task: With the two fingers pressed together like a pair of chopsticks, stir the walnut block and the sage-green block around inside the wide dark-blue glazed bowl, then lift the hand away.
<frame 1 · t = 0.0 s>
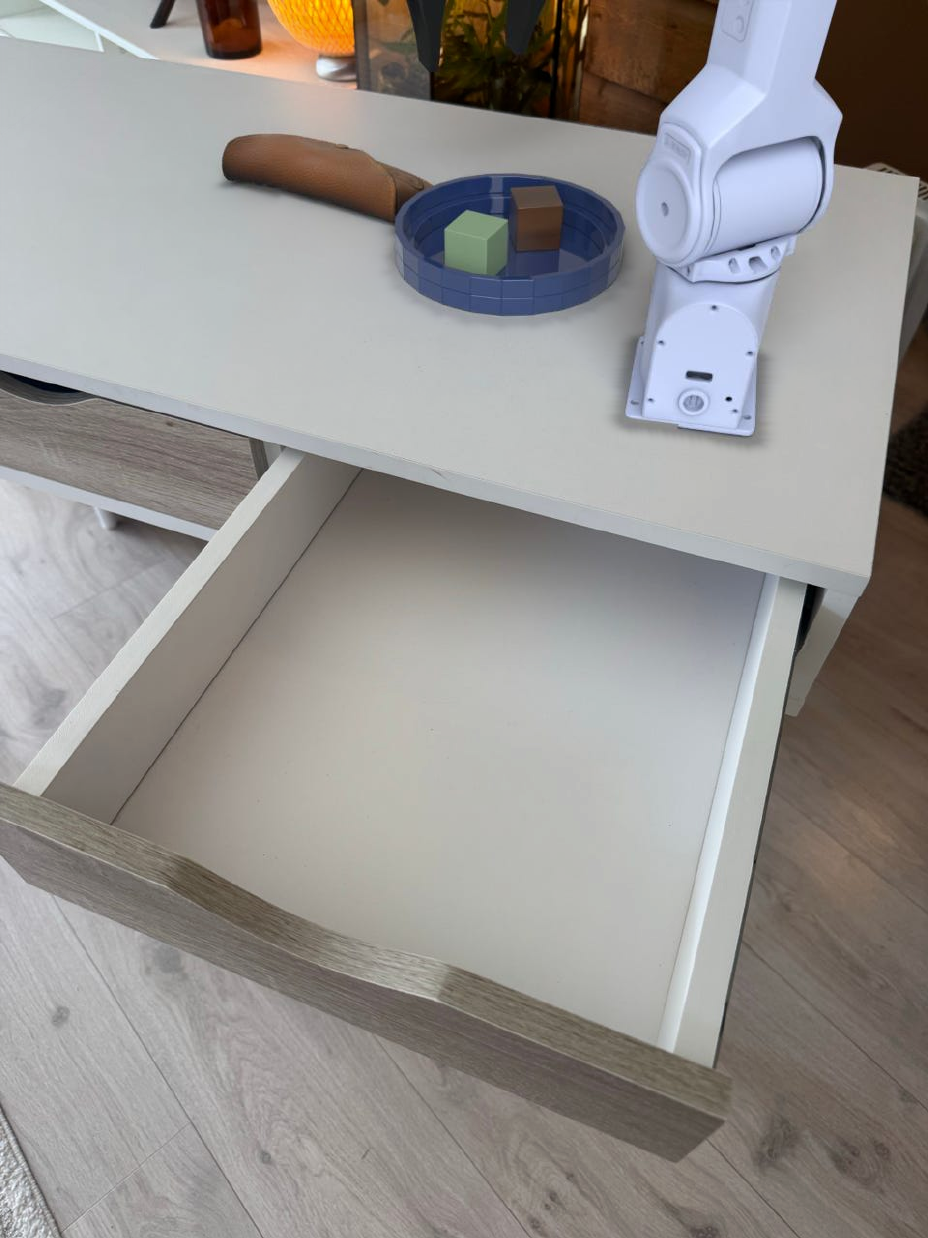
hand: (472, 57, 73), 11 cm above the table, tool pointing down, fingers open, 7 cm apart
sage block: (476, 269, 71), resting on bowl
walnut block: (534, 240, 74), resting on bowl
sunglasses case: (335, 193, 81), on the table
bowl: (507, 262, 73), on the table
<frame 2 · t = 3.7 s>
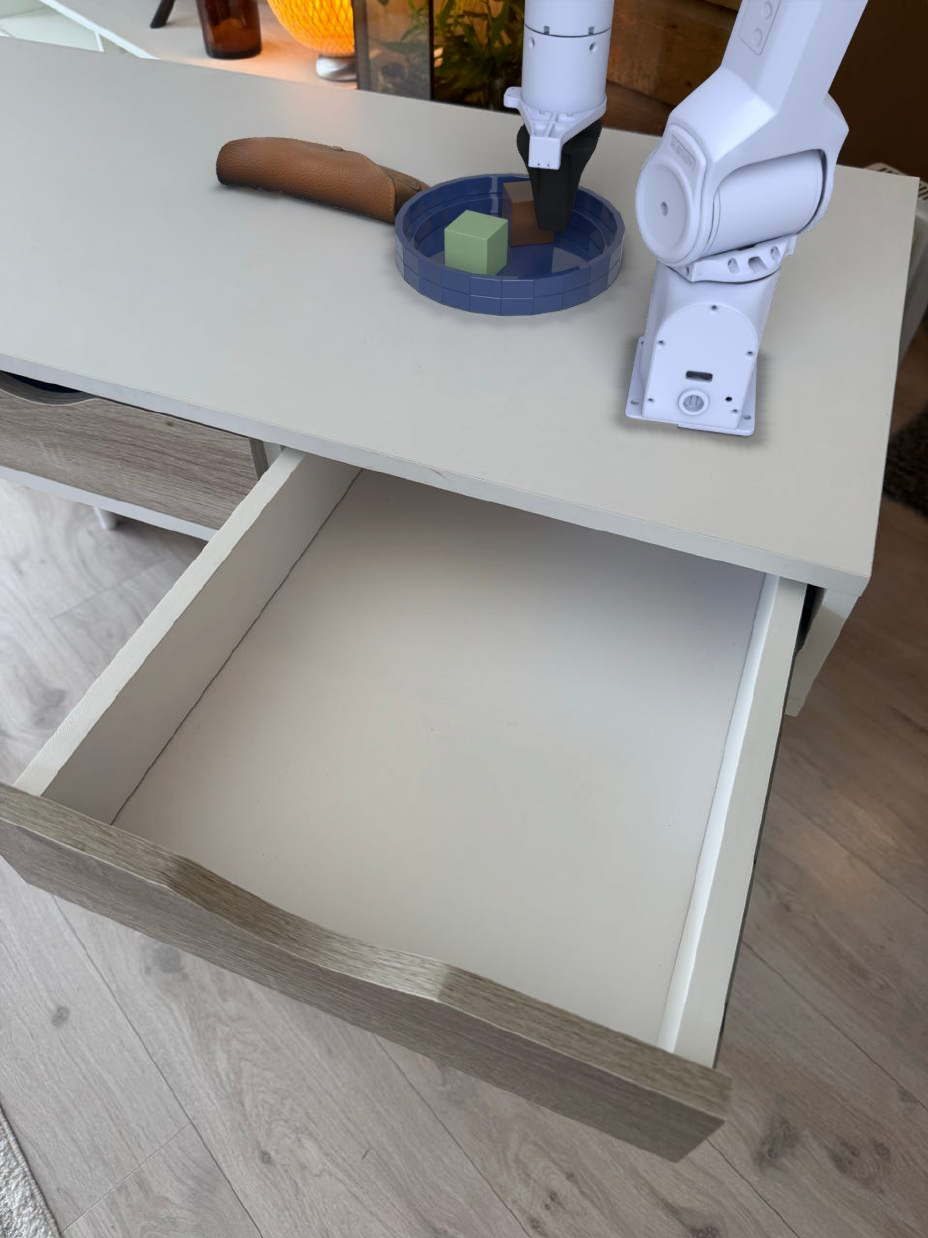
hand: (552, 226, 71), 3 cm above the table, tool pointing down, fingers closed
walnut block: (527, 234, 75), point 1 cm above the table, touching gripper
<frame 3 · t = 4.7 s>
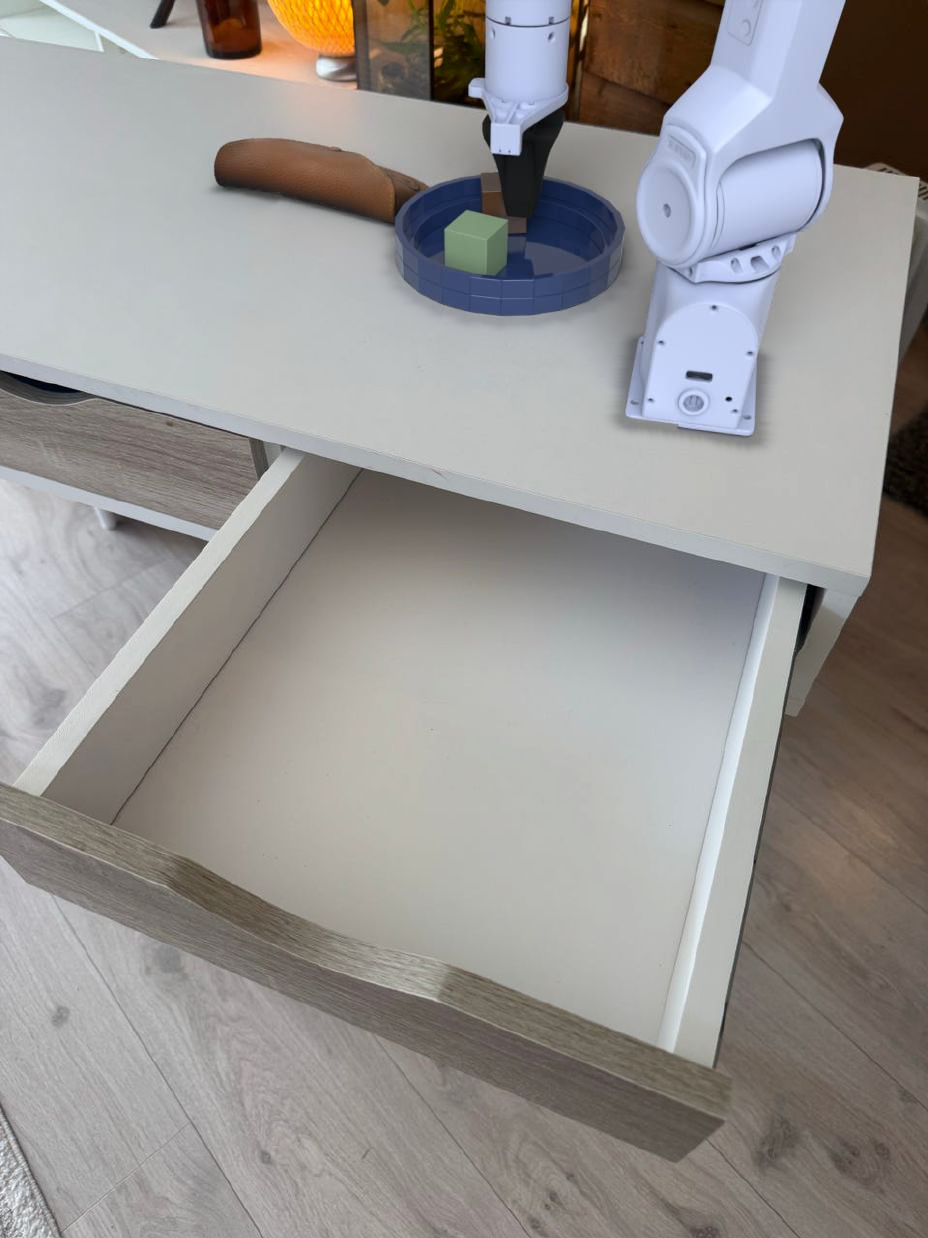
hand: (520, 215, 73), 2 cm above the table, tool pointing down, fingers closed, pressing on walnut block
walnut block: (503, 224, 76), point 1 cm above the table, touching bowl, gripper
everything else where it was.
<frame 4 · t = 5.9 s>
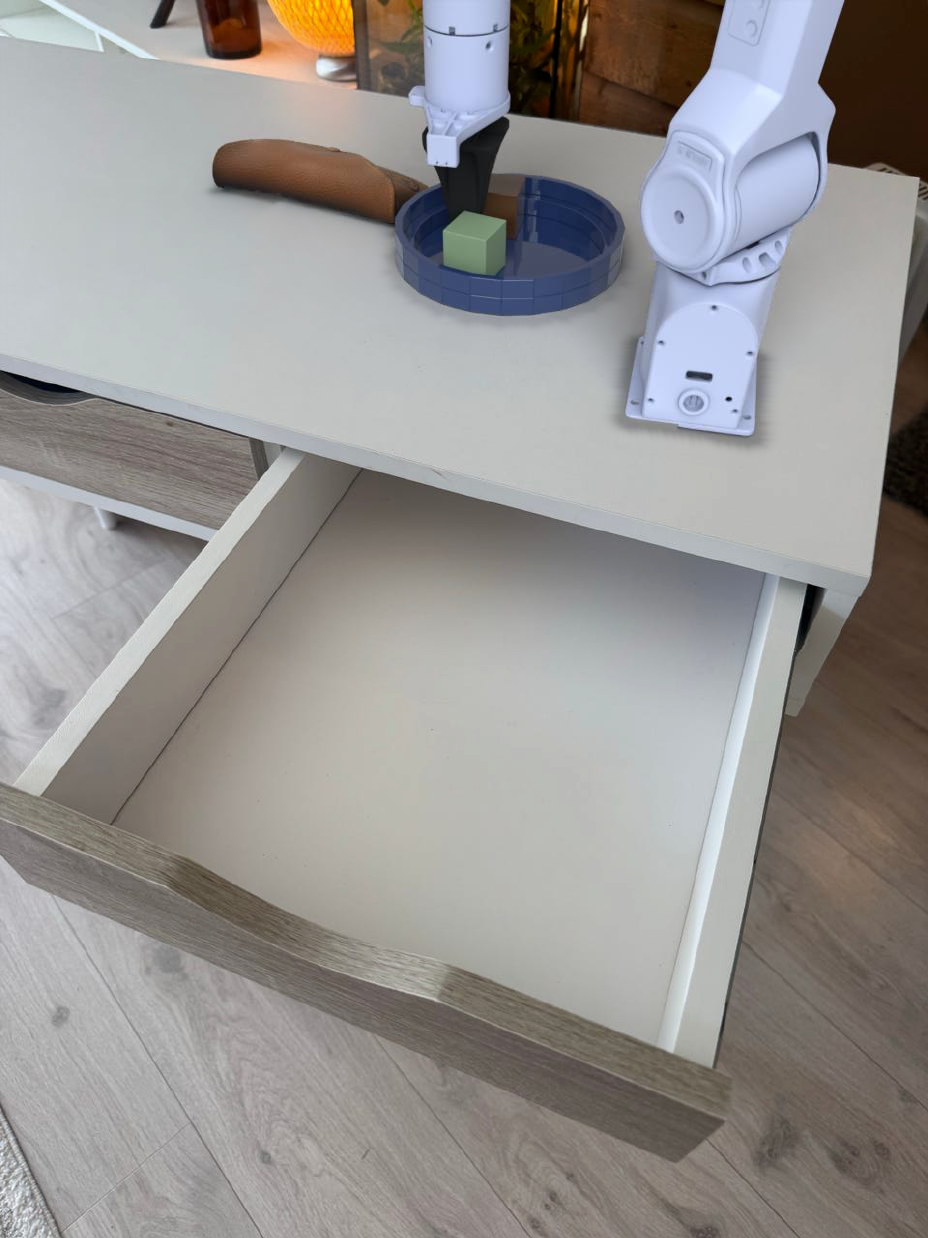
hand: (466, 224, 72), 2 cm above the table, tool pointing down, fingers closed
sage block: (474, 270, 71), point 1 cm above the table, touching bowl, gripper
walnut block: (498, 227, 75), resting on bowl
everything else where it was.
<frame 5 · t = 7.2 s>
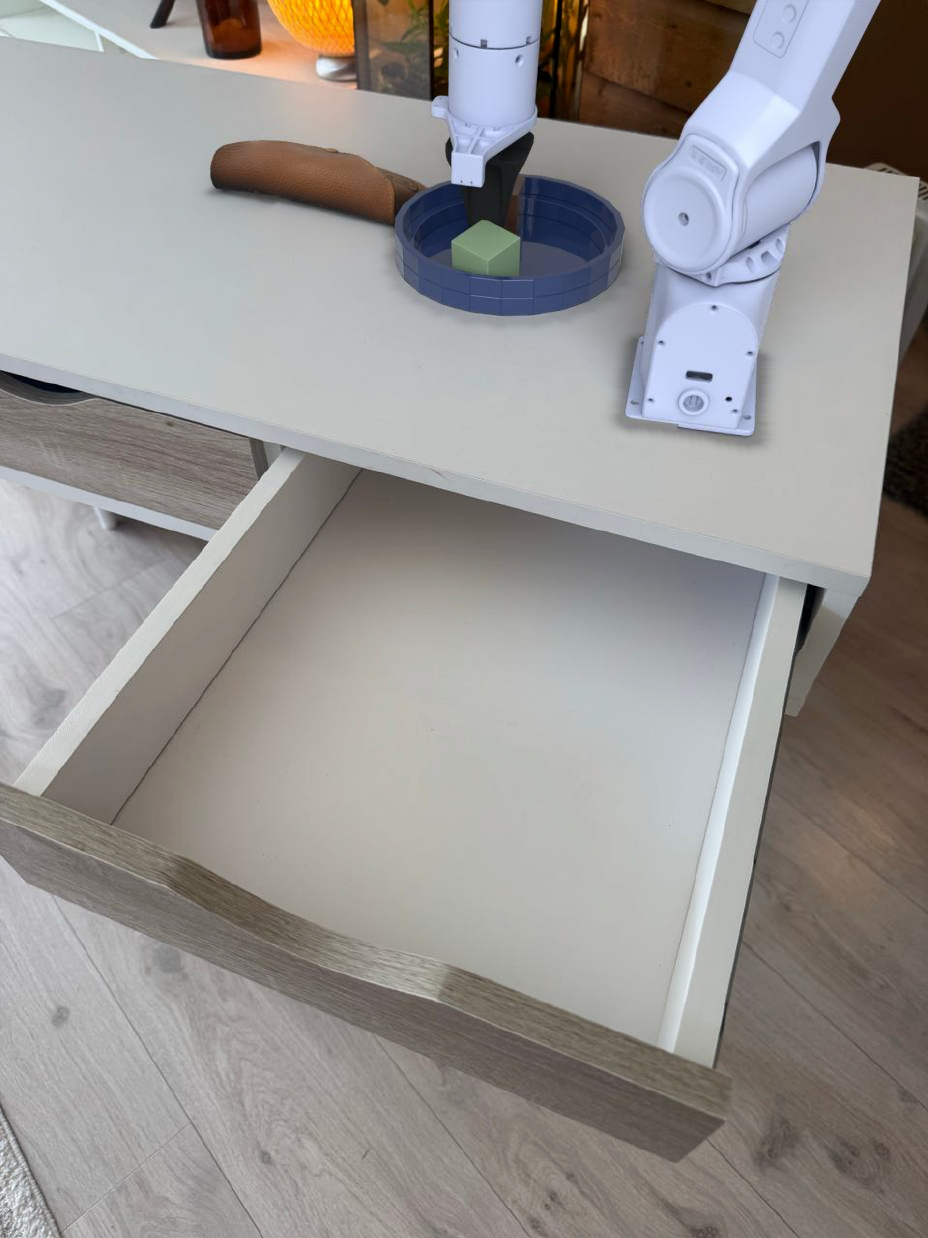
hand: (485, 240, 69), 3 cm above the table, tool pointing down, fingers closed, pressing on sage block
sage block: (485, 280, 69), point 1 cm above the table, tilted 9°, touching bowl, gripper
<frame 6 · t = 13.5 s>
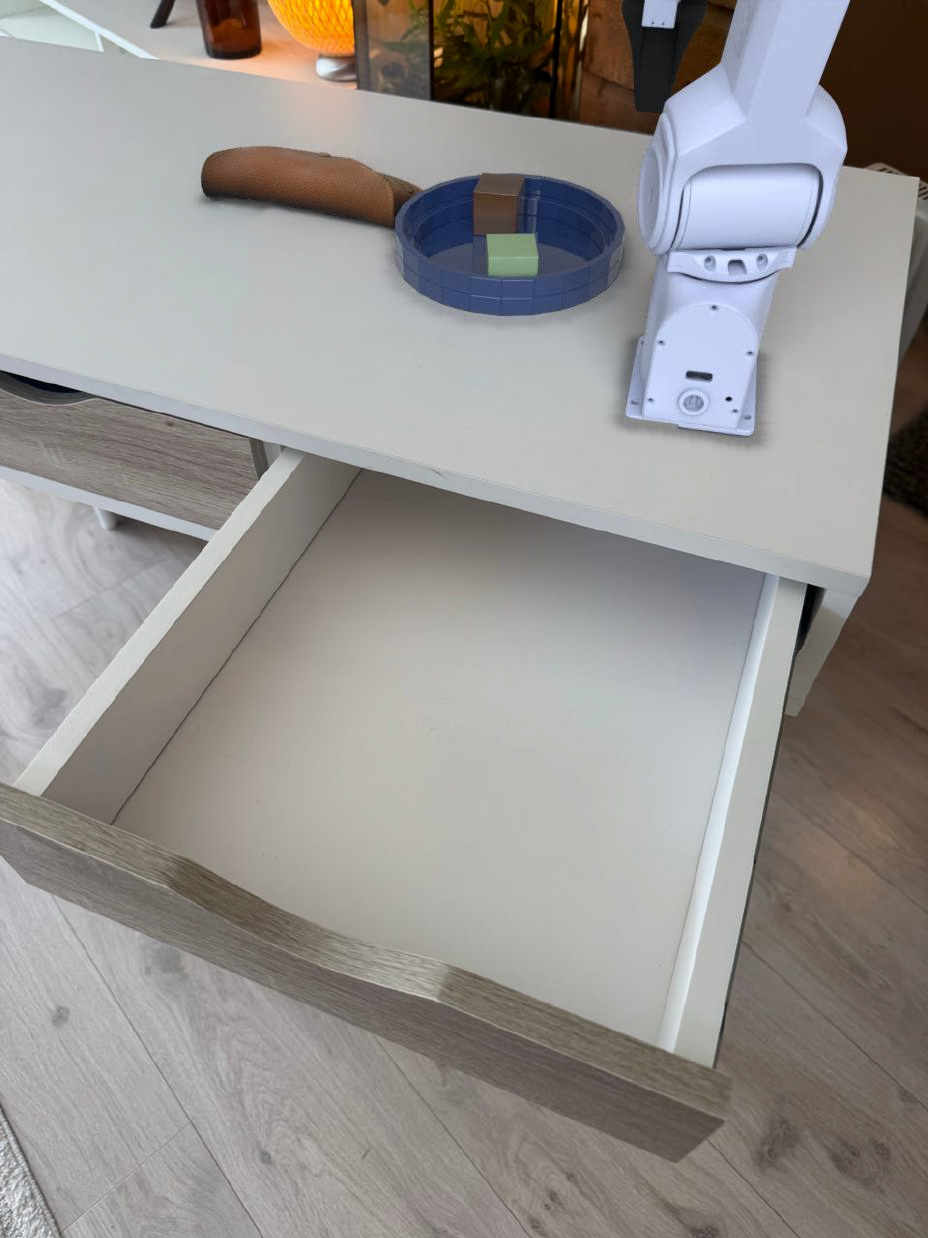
hand: (650, 108, 69), 9 cm above the table, tool pointing down, fingers closed
sage block: (510, 290, 69), point 1 cm above the table, touching bowl
at the end: walnut block moved 3.5 cm from its start; walnut block inside the target area in the bowl (4.8 cm from its centre), point 0.5 cm above the bowl's base; sage block inside the target area in the bowl (5.2 cm from its centre), point 0.5 cm above the bowl's base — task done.
